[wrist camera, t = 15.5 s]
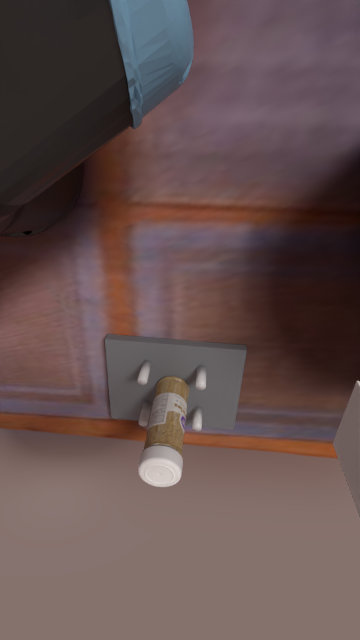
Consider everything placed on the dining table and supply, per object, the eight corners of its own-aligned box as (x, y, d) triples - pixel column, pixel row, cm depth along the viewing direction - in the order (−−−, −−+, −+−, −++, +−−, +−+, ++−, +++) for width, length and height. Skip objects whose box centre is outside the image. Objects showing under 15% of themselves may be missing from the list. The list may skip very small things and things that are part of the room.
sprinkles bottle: (195, 393, 47) (189, 482, 36) (167, 404, 49) (152, 493, 37) (178, 369, 45) (166, 455, 34) (149, 381, 47) (128, 467, 35)
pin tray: (113, 412, 52) (104, 437, 48) (107, 333, 45) (96, 355, 41) (233, 423, 51) (234, 449, 47) (246, 345, 44) (249, 367, 40)
